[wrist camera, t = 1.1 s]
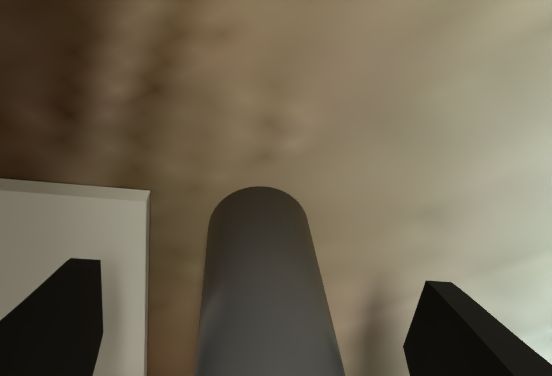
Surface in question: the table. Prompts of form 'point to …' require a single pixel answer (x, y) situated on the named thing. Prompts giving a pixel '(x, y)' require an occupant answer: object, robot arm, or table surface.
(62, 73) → the table surface
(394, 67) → the table surface
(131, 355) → the notepad
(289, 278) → the cylinder
